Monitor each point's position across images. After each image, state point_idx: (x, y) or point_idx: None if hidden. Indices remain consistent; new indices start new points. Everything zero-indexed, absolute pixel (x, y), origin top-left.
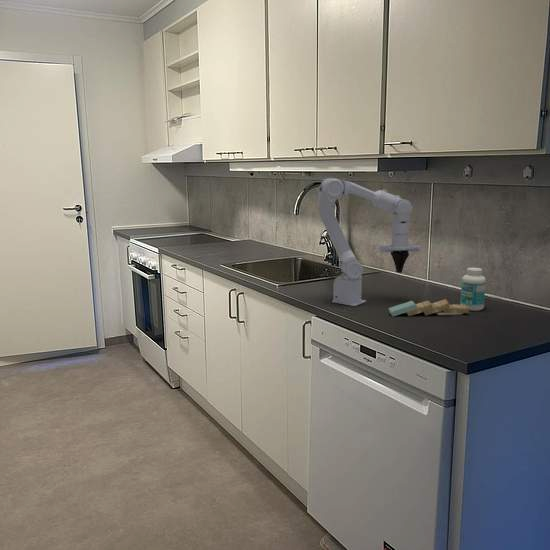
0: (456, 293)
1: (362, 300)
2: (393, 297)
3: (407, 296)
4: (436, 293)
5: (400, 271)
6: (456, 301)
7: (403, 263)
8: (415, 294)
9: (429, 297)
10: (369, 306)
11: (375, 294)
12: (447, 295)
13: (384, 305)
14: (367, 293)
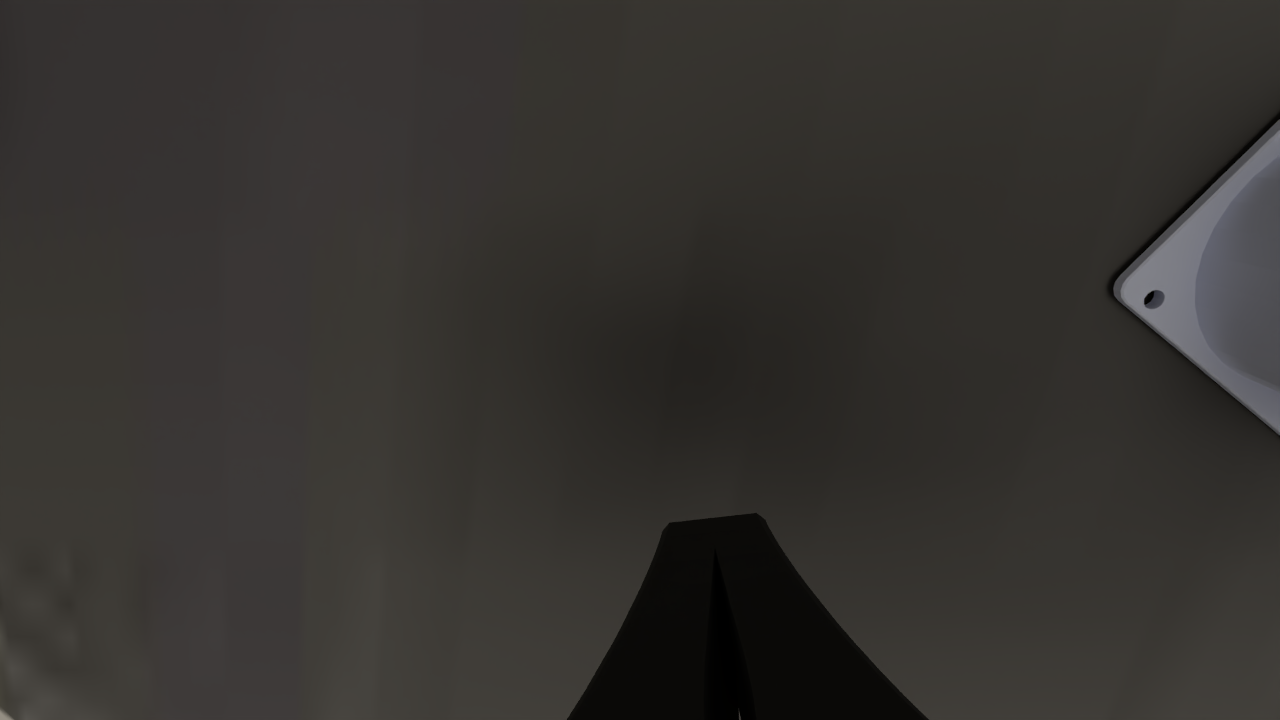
0: (68, 636)
1: (1171, 289)
2: (715, 498)
3: (556, 536)
4: (256, 639)
5: (700, 534)
6: (43, 337)
7: (613, 703)
8: (464, 608)
9: (328, 497)
10: (1137, 60)
11: (884, 614)
12: (149, 570)
13: (913, 124)
14: (960, 651)
